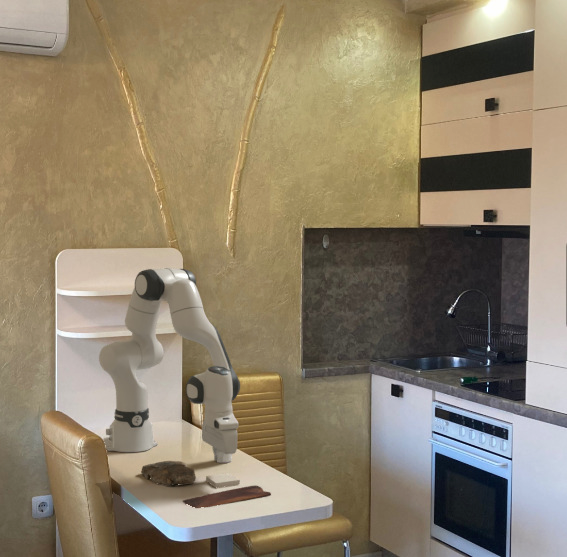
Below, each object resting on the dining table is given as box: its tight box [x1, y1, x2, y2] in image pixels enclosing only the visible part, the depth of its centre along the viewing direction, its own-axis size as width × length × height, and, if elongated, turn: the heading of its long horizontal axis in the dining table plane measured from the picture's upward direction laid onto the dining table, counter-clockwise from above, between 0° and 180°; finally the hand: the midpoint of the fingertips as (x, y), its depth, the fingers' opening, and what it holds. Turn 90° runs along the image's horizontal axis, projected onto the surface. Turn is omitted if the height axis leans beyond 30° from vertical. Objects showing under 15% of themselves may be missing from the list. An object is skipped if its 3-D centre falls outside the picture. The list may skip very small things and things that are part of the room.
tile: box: [205, 472, 240, 489], centre depth 274 cm, size 2×8×8 cm
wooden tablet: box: [182, 485, 272, 509], centre depth 260 cm, size 26×2×10 cm
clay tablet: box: [140, 460, 197, 487], centre depth 277 cm, size 14×5×20 cm
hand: (218, 461), depth 277 cm, fingers closed
